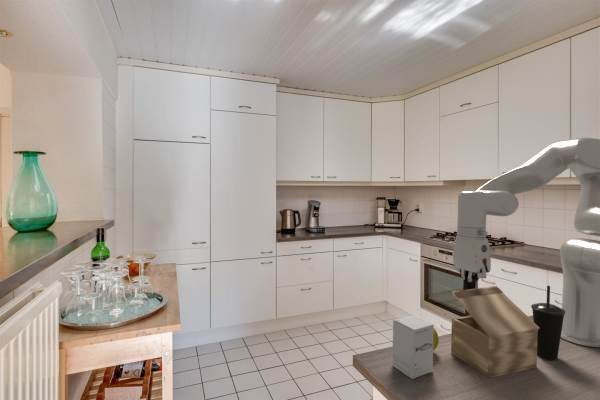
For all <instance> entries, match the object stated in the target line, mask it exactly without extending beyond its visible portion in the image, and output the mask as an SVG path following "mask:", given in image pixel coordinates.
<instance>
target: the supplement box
mask: <svg viewBox="0 0 600 400" xmlns="http://www.w3.org/2000/svg"><path fill="white" fill-rule="evenodd" d="M434 325H435V324H434V323H432V322H430V321H427V320H425V319H422V318H420V317H418V316H415V315H408V316H404V317H400V318H396V319H395V318H394V319H393V320H392V359H391V360H392V367H394V368H395V369H397V370H398V371H400V372H401V373H402V374H404V375H405V376H407V377H409V378H410V379H412V380H414V379H417V378H419V377H422V376H424V375H427V374H430V373H432V372H433V370H434V369H433V368H434V367H433V365H434V350H433V333H434V329H435V326H434Z"/></svg>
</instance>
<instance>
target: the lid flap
mask: <svg viewBox="0 0 600 400" xmlns="http://www.w3.org/2000/svg"><path fill="white" fill-rule="evenodd" d="M451 294H452V295H453V297H454V298H455V299H456V301H458V302H459V304H460V305H461V306H462V307H463V308H464V309H465V310H466V312H467V313H468V314H469V316H472V317H473V319H474V320H475V321H476V322H477V323H478V324H479V325H480V327H481V328H482V329H483V330H484V331H485V332H486V334H487V335H488V336H489V337H490V338H496V337H502V336H507V335H512V334H518V333H523V332H528V331H534V330H539V327H538V326H537V325H536V324H535V323H534V322H533V320H532V319H531V318H530V317H529V316H528V315H527V314H526V313H525V312H524V311H523V310H522V309H521V308H520V307H518V306H517V304H516V303H514V301H513V300H511V298H509V297H508V296H507V295H506V294H505V293H504V291H502V289H500V287H498V286H497V285H494V286H486V287H476V289H468V290H463V289H462V290H461V289H460V290H454V291H452V292H451Z"/></svg>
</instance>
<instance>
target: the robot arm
mask: <svg viewBox="0 0 600 400" xmlns="http://www.w3.org/2000/svg"><path fill="white" fill-rule="evenodd" d="M569 169H570V171H571V172H572V173H573V175H574V176H575V177H576V179H577V180H578V182H579V185H580V196H579V200H578V202H577V207H576V211H575V215H574V220H573V226H574V229H575V230H576V231H577V232H579V233H581V234H584V235H588V236H593V237H594V236H595V237H600V139H599V138H594V137H579V138H573V139H566V140H561V141H560V140H559V141H556V142H553V143H551V144H549V145H548V146H546V147H545V148H543V149H542V150H541V151H540V152H538V153H537V154H536V155H534V156H533V157H531V158H530V159H529V160H527V161H526V162H524V163H523V164H521V165H519V166H518V167H516V168H513V169H511V170H509V171H507V172H505V173H503V174H501V175H499V176H497V177H495V178H493V179H491V180H489V181H487V182H485V184H484V183H483V185H482V186H480V187H479V188H478V189H476V190H475V191H474V190H464V191H460V192H459V193H458V195H457V226H456V236H455V241H454V244H453V255H452V256H453V257H452V260H453V261H452V262H453V265H454V270H455V271H457V272H458V273H460V275H461V280H462V281H463V284H462V290H468V289H476V288H477V282H479V280H481V279H487V273H490V272H491V269H492V267H491V265H492V264H491V262H492V261H491V249H490V248H491V247H490V243H489V239H488V238H486V237H487V235H488V234H489V233H488V231H487V216H493V217H507V216H511V215H513V214H514V213H516V212H517V210H518V208H519V199H518V197H517V196H516V195H517V194H522V193H528V192H532V191H534V190H535V191H536V190H538V189H541V188H543V187H545V186H546V185H548V184H549V183H551V182H552V180H554V179H555V178H556V177H558V176H560V175H561V174H562V173H564V172H565V171H566V170H569ZM559 257H560V262H561V267H562V296H561V298H562V300H561V301H562V302H561V304H562V305H561V306H562V307H561V309H563V310H565V315H564V318H563V325H562V331H561V338H560V339H563V340H565V341H568V342H570V343H573V344H576V345H580V346H583V347H584V346H585V347H589V348H590V347H591V348H600V275H599V274H600V240H597V239H590V238H584V237H573V238H569V239H567V240H565V241H564V242H562V244H561V246H560V247H559Z"/></svg>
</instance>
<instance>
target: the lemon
mask: <svg viewBox="0 0 600 400" xmlns="http://www.w3.org/2000/svg"><path fill="white" fill-rule="evenodd" d="M439 341H440V340H439V334H438V332H437V329H436V328H434V333H433V351H435V350H436V349H437V347H438V345H439Z"/></svg>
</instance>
